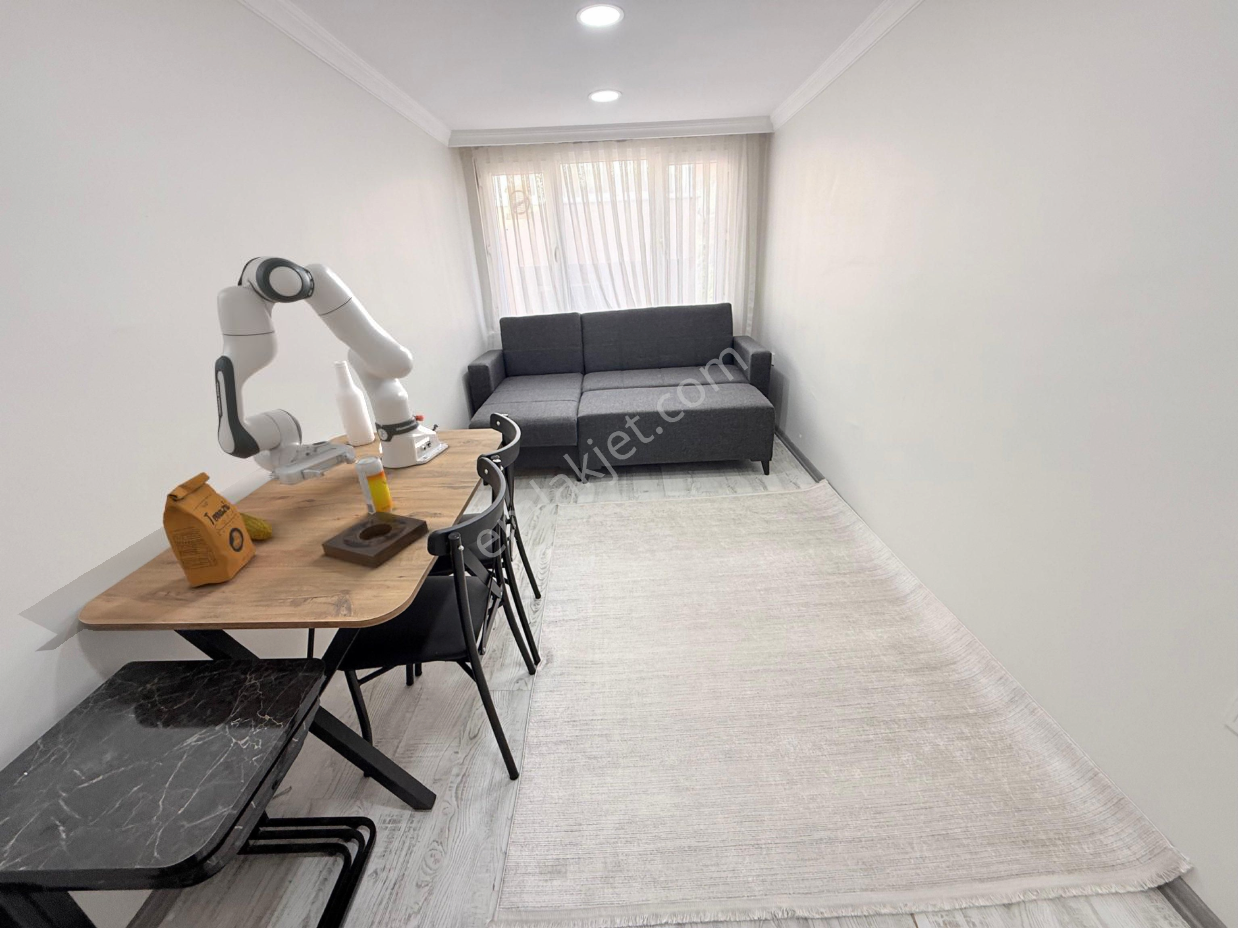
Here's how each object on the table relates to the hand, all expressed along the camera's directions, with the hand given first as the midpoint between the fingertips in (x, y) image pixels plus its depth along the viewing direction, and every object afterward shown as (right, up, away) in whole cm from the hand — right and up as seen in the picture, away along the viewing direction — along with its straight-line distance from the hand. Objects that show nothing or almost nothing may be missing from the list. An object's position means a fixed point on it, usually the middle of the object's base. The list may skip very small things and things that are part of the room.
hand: (337, 467), depth 131 cm
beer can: (+12, -12, 0) cm, 17 cm away
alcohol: (-21, +9, +53) cm, 57 cm away
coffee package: (-12, -23, -22) cm, 34 cm away
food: (-19, -17, -7) cm, 27 cm away
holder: (+18, -18, -14) cm, 29 cm away
